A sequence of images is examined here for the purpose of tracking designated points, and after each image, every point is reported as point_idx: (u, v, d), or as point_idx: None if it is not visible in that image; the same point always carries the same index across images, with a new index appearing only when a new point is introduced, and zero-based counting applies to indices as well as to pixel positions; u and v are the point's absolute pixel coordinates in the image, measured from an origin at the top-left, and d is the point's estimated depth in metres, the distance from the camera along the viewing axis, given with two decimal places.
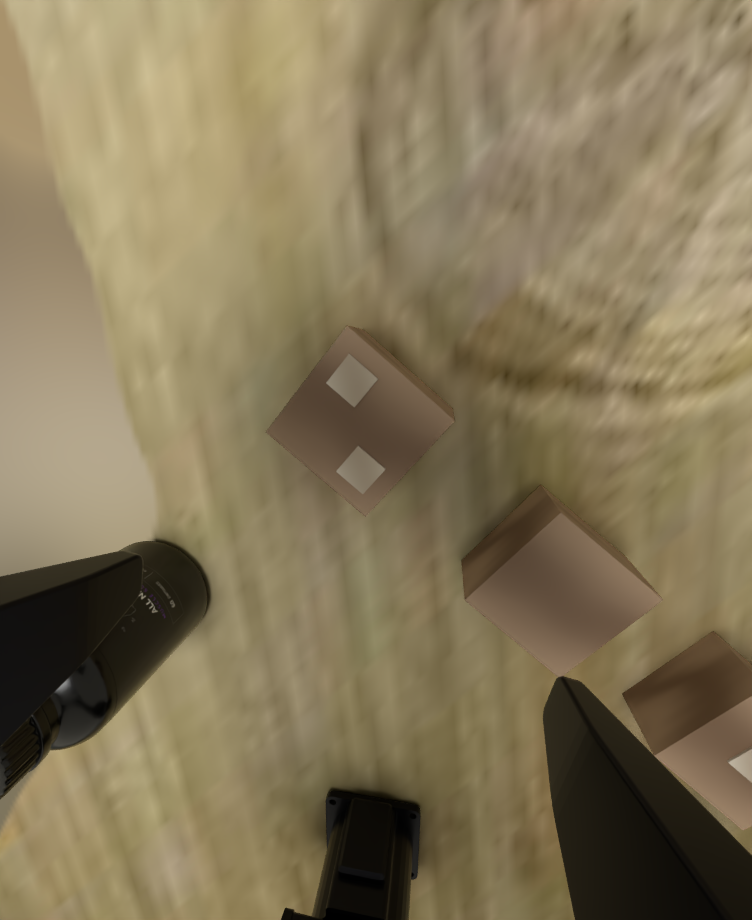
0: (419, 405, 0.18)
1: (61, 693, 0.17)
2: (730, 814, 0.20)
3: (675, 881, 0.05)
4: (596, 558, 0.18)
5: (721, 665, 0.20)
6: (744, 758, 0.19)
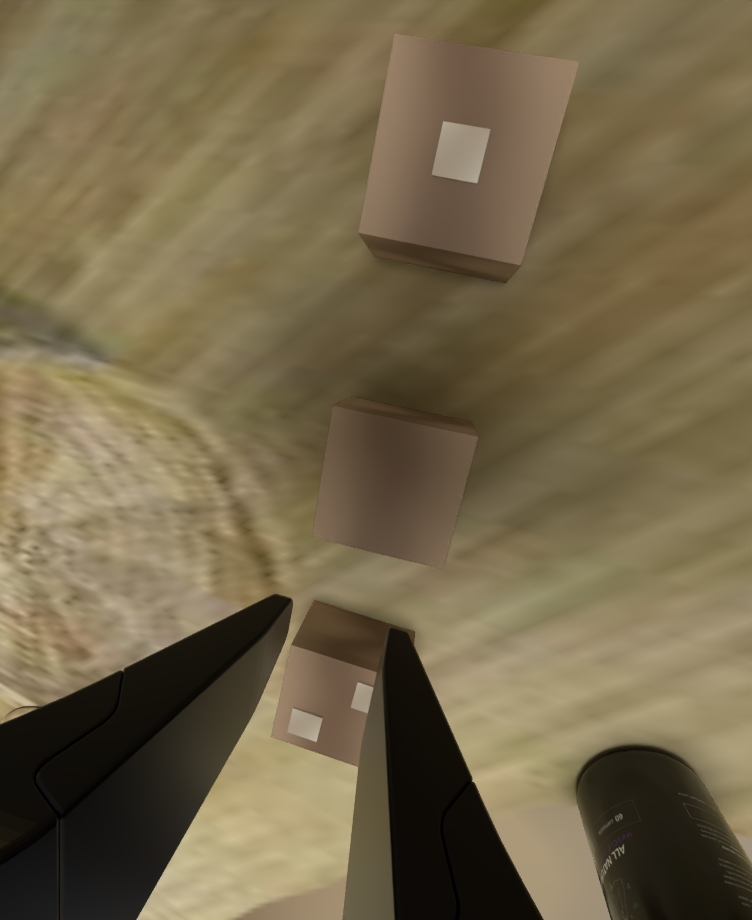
0: (295, 673, 0.21)
1: None
2: (560, 102, 0.13)
3: (382, 786, 0.05)
4: (331, 485, 0.18)
5: (387, 250, 0.17)
6: (459, 171, 0.14)
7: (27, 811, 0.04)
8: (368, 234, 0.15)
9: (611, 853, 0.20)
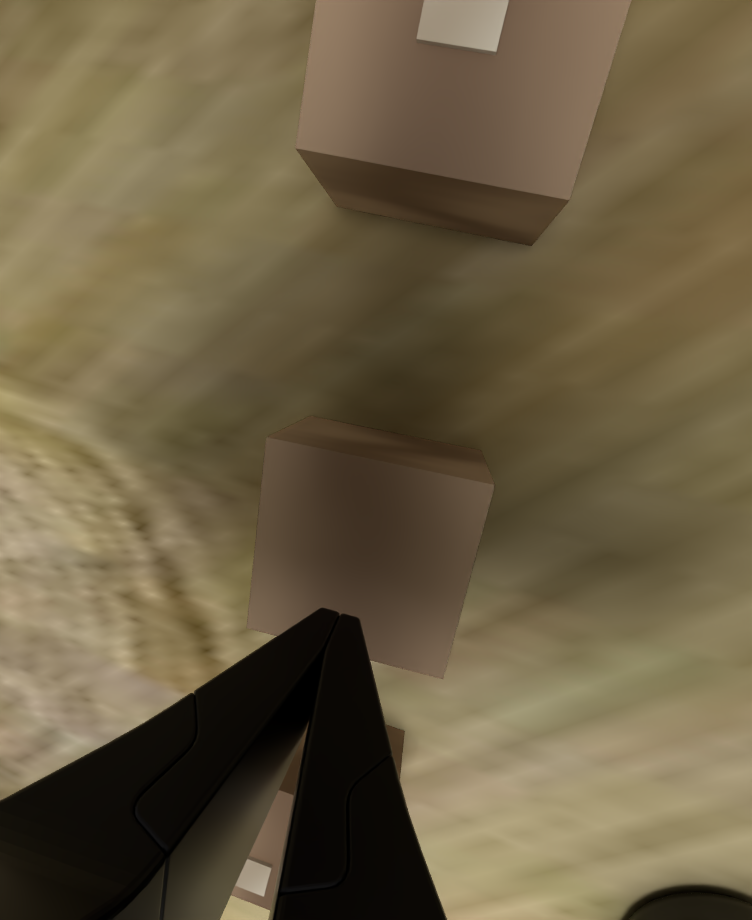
0: None
1: None
2: None
3: (302, 760, 0.05)
4: (271, 555, 0.12)
5: (351, 189, 0.11)
6: (464, 31, 0.08)
7: (132, 850, 0.03)
8: (311, 151, 0.09)
9: None
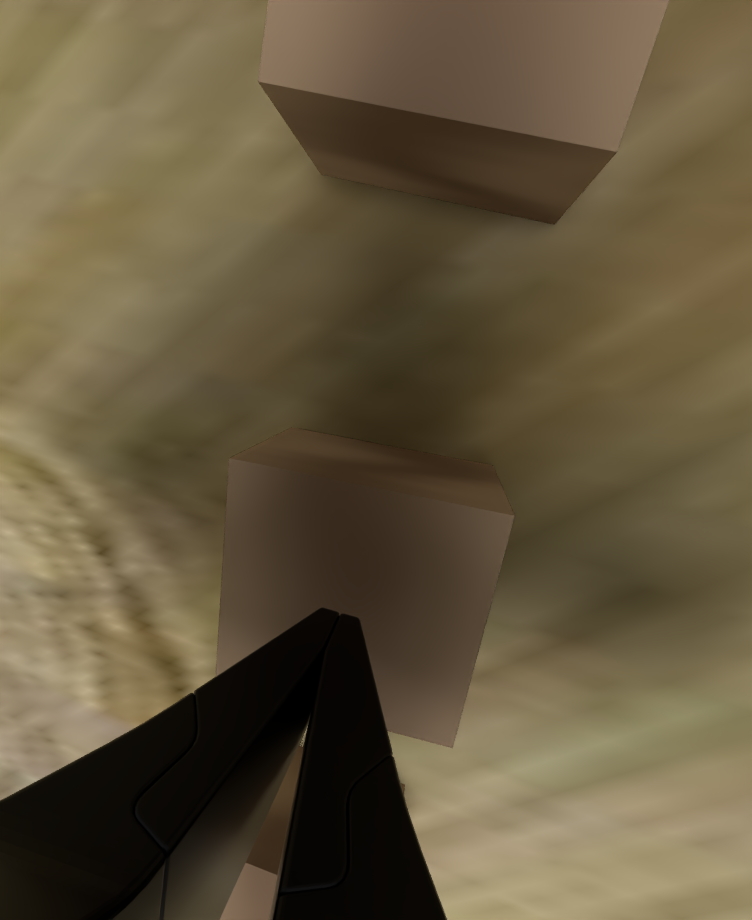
0: None
1: None
2: None
3: (302, 760, 0.05)
4: (241, 601, 0.10)
5: (335, 146, 0.09)
6: None
7: (132, 850, 0.03)
8: (280, 86, 0.07)
9: None
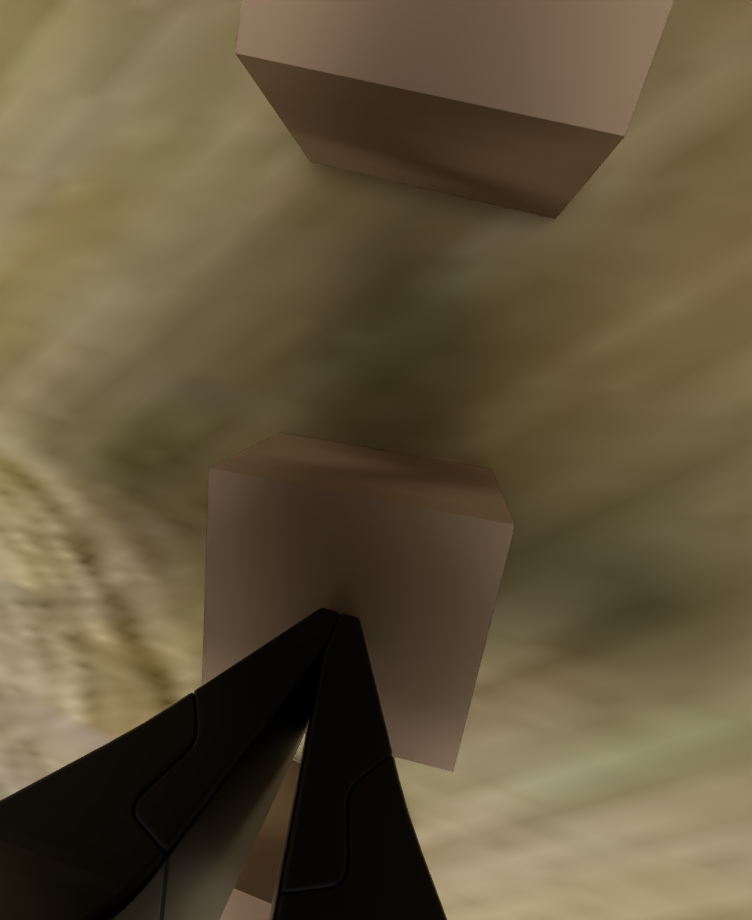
0: None
1: None
2: None
3: (302, 760, 0.05)
4: (225, 618, 0.09)
5: (322, 130, 0.08)
6: None
7: (132, 849, 0.03)
8: (258, 58, 0.06)
9: None
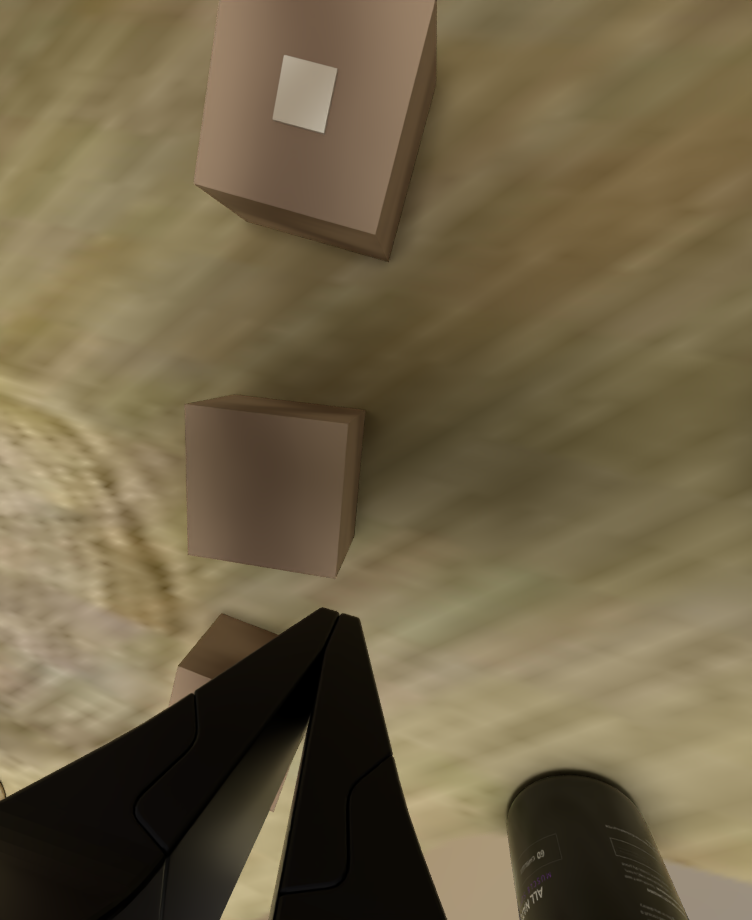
0: (182, 697, 0.18)
1: None
2: (416, 42, 0.11)
3: (302, 760, 0.05)
4: (199, 495, 0.16)
5: (246, 211, 0.15)
6: (303, 117, 0.12)
7: (132, 850, 0.03)
8: (205, 186, 0.13)
9: (530, 896, 0.18)
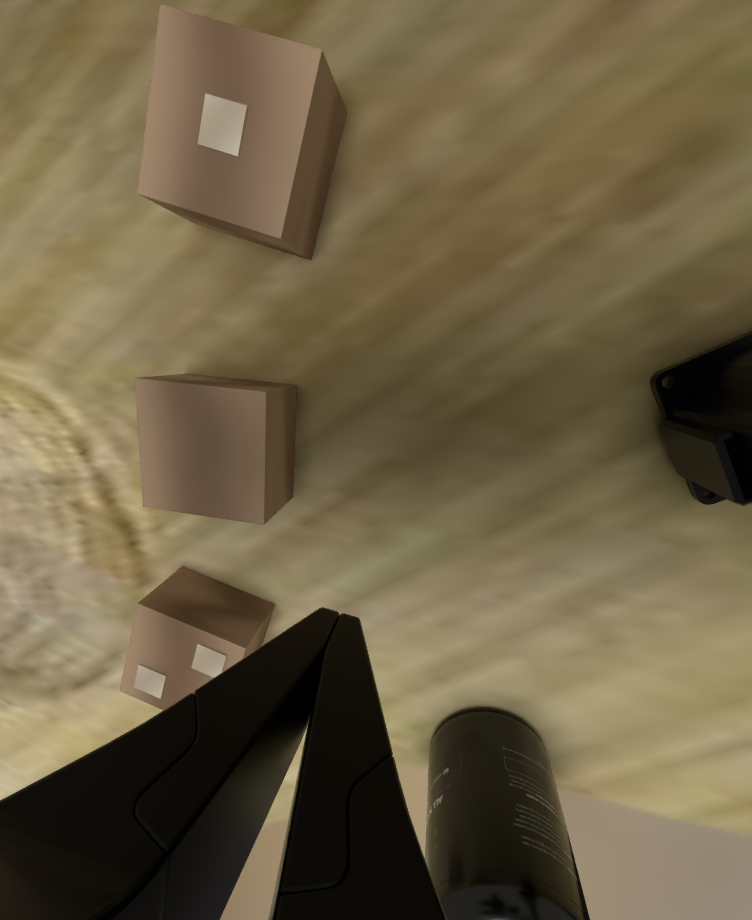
0: (141, 631, 0.21)
1: None
2: (307, 86, 0.14)
3: (302, 760, 0.05)
4: (149, 454, 0.19)
5: (187, 215, 0.18)
6: (221, 143, 0.15)
7: (132, 850, 0.03)
8: (146, 196, 0.16)
9: (433, 804, 0.21)
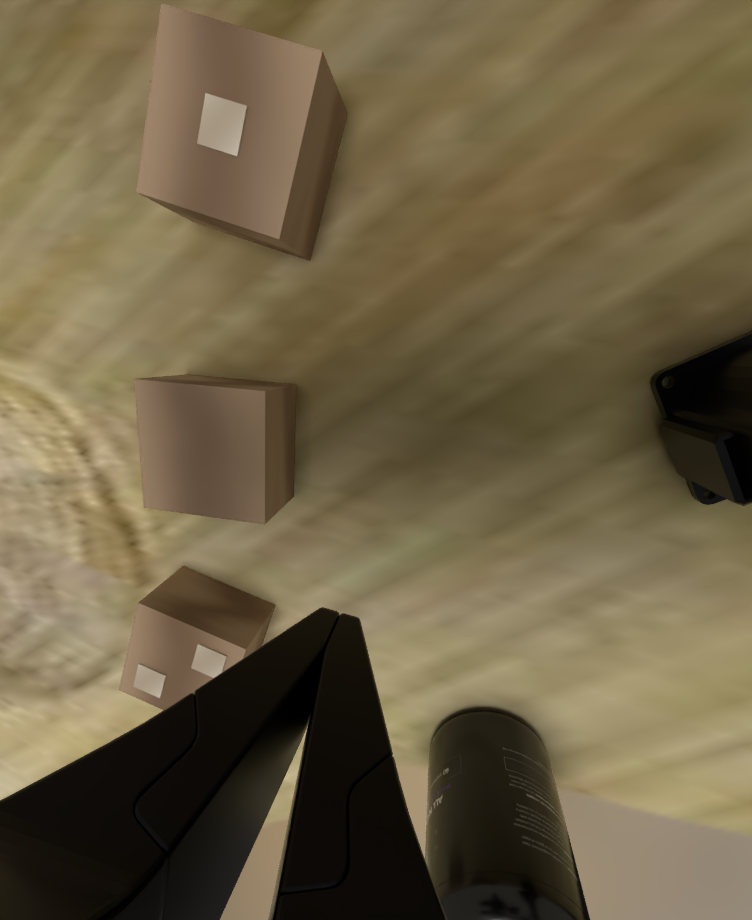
0: (142, 630, 0.21)
1: None
2: (307, 87, 0.14)
3: (302, 760, 0.05)
4: (150, 455, 0.19)
5: (186, 214, 0.18)
6: (221, 143, 0.15)
7: (132, 850, 0.03)
8: (145, 195, 0.16)
9: (433, 804, 0.21)
